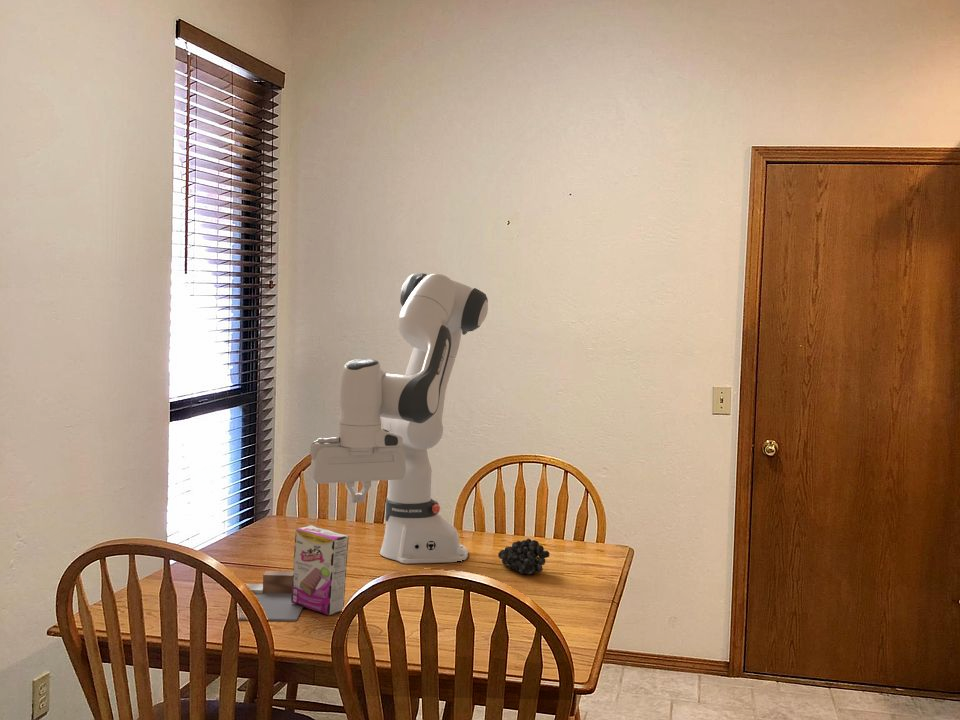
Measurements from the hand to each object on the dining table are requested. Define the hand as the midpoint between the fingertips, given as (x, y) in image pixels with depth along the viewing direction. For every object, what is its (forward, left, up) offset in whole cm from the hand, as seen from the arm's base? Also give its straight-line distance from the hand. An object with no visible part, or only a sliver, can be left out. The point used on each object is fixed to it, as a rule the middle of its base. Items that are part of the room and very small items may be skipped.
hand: (357, 502), depth 207 cm
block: (+20, -10, -23) cm, 32 cm away
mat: (+18, -2, -23) cm, 29 cm away
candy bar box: (+8, 0, -23) cm, 24 cm away
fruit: (-37, -32, -24) cm, 55 cm away
